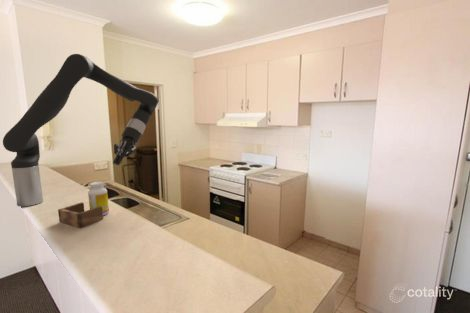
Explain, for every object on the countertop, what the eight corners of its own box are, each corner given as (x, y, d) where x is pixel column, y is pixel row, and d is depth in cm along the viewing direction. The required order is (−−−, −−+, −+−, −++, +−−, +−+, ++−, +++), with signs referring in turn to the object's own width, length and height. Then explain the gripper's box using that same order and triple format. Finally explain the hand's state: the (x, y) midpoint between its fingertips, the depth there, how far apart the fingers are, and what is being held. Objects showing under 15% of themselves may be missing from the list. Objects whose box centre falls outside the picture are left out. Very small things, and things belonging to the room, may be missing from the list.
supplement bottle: (112, 211, 101) (110, 181, 99) (102, 217, 95) (99, 185, 93) (97, 210, 102) (94, 180, 100) (86, 216, 95) (83, 185, 94)
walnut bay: (59, 222, 90) (57, 209, 89) (82, 214, 98) (81, 202, 97) (80, 228, 85) (78, 214, 84) (103, 219, 93) (101, 206, 92)
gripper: (118, 125, 111) (98, 159, 104) (138, 126, 105) (119, 161, 98) (130, 135, 117) (112, 167, 110) (149, 135, 111) (132, 169, 104)
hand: (115, 164), depth 104 cm, fingers closed
